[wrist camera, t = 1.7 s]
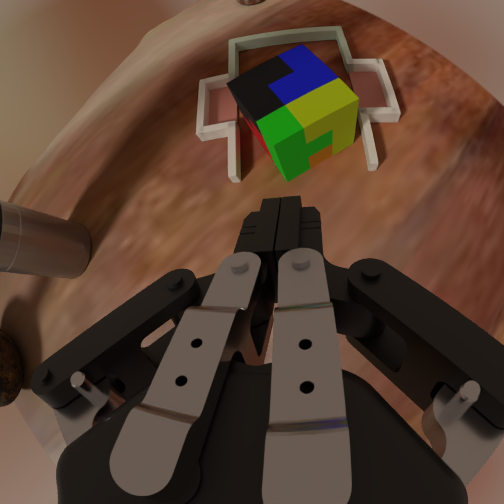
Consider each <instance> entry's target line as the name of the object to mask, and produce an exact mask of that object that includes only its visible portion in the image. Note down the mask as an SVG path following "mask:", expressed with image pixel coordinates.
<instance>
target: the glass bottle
mask: <svg viewBox="0 0 504 504" xmlns="http://www.w3.org/2000/svg"><path fill="white" fill-rule="evenodd" d="M22 382H23V369H22V363H21V359H20V356H19V353H18V350H17V349H16V347H15V345H14V343H13V341H12V340H11V339H10V337H9V336H8V335H7V334H6V333H5V332H4V331H3V330H2V329H0V407H2V406H6V405H9V404H10V403H12V402H13V401H14V400H15V399H16V397H17V396H18V394H19V392H20V390H21V387H22Z"/></svg>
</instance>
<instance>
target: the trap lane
mask: <svg viewBox="0 0 504 504" xmlns="http://www.w3.org/2000/svg"><path fill="white" fill-rule="evenodd" d="M321 40H337V43H338V46H339V49H340V53H341V56H342V59H343V63H344V66H345V69H346V73H349V76H350V80H351V84H352V87H353V91H354V94H355V95H356V96H357V97H358V98H359V105H358V121H359V125H360V130H361V135H362V140H363V145H364V150H365V155H366V161H367V167H368V171H376V169H377V166H378V164H379V163H378V158H377V153H376V148H375V143H374V138H373V134H372V129H371V125H370V122H398V120H399V117H400V115H401V112H400V109H399V106H398V102H397V99H396V96H395V93H394V90H393V87H392V84H391V81H390V79H389V76H388V73H387V70H386V68H385V65H384V63H383V60H382V59H352V57H351V54H350V51H349V48H348V45H347V42H346V39H345V36H344V34H343V31H342V28H341V26H325V27H311V28H300V29H290V30H282V31H275V32H268V33H262V34H256V35H250V36H245V37H240V38H235V39H230V40H229V62H228V74H223V75H219V76H214V77H210V78H206V79H202V80H200V81H199V94H198V108H197V124H196V135H197V136H198V137H199V138H200V139H201V141H206V140H212V139H217V138H223V137H228V177H229V178H230V179H231V181H232V182H233V183H236V182H241V159H240V128H239V126H238V112H237V103H236V101H235V99H234V97H233V95H232V93H231V92H230V90H229V88H228V86H227V84H226V83H227V82H229V81H231V80H233V79H234V78H236V77H238V76H239V51H243V50H249V49H254V48H260V47H267V46H273V45H281V44H289V43H297V42H308V41H321Z"/></svg>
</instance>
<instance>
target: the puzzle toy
mask: <svg viewBox="0 0 504 504" xmlns="http://www.w3.org/2000/svg"><path fill="white" fill-rule="evenodd" d="M226 84H227V86H228V88H229V90H230V92H231V93H232V95H233V97H234V99H235V101H236V103H237V105H238V107H239V109H240V111H241V113H242V114H243V116H244V118H245V120H246V122H247V124H248V126H249V128H250V129H251V130H252V132H253V133H254V135H255V136H256V137H257V139H258V140H259V142H260V143H261V144H262V146H263V147H264V149H265V150H266V151H267V153H268V154H269V156H270V157H271V159H272V160H273V162H274V163H275V164H276V166H277V167H278V169H279V170H280V172H281V173H282V175H283V176H284V178H285V179H286V181H287V182H288V181H290V180H292V179H293V178H295V177H297V176H298V175H300V174H302V173H303V172H305V171H307V170H308V169H310V168H312V167H314V166H315V165H317V164H319V163H320V162H322V161H324V160H325V159H327V158H329V157H331V156H332V155H334V154H336V153H338V152H339V151H341V150H343V149H345V148H346V147H348V146H350V145H352V144H353V142H354V136H355V128H356V121H357V113H358V105H359V98H358V97H357V96H356V95H355V94H354V92H353V91H352V90H351V89H350V88H349V87H348V86H347V85H346V84H345V83H344V82H343V81H342V80H341V79H340V78H339V77H338V76H337V75H336V74H335V73H334V72H333V71H332V70H330V69H329V68H328V67H327V66H326V65H325V64H324V63H323V62H322V61H321V60H320V59H319V58H318V57H316V56H315V55H314V54H313V53H312V52H311V51H310V50H309V49H307V48H306V47H305V46H304V45H303V44H301V45H299V46H297V47H295V48H292V49H290V50H288V51H286V52H284V53H282V54H280V55H278V56H276V57H274V58H272V59H270V60H268V61H266V62H264V63H262V64H260V65H258V66H256V67H254V68H252V69H251V70H249V71H247V72H245V73H243V74H241V75H240V76H238V77H236V78H234V79H233V80H231V81H229V82H227V83H226Z"/></svg>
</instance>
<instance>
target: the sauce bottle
mask: <svg viewBox="0 0 504 504" xmlns="http://www.w3.org/2000/svg"><path fill="white" fill-rule="evenodd" d="M237 1H238V2H239V3H240V4H243V5H253V4H257V3H259V2H262V1H263V0H237Z"/></svg>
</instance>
